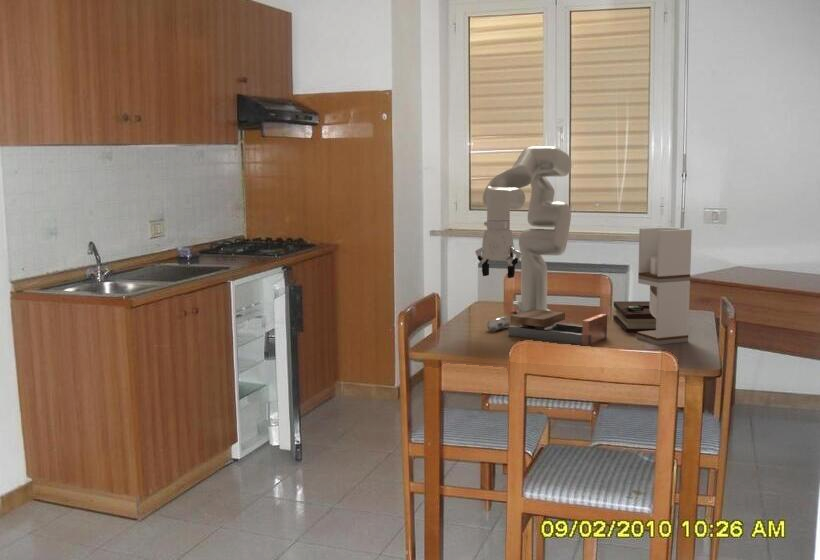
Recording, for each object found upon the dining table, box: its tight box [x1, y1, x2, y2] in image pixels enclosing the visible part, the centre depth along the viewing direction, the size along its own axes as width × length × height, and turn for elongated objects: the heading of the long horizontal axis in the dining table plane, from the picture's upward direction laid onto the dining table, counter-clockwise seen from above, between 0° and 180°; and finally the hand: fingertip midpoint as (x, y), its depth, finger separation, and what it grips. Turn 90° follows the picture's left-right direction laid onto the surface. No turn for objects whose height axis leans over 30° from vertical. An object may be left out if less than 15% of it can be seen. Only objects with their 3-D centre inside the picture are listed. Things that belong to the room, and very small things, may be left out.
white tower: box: [636, 226, 693, 346], centre depth 267 cm, size 11×11×35 cm
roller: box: [486, 316, 510, 333], centre depth 289 cm, size 4×8×4 cm, turn 144°
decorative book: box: [612, 300, 656, 334], centre depth 292 cm, size 19×8×30 cm
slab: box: [510, 309, 566, 327], centre depth 280 cm, size 12×15×2 cm
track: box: [508, 313, 608, 346], centre depth 276 cm, size 28×14×8 cm, turn 54°
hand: (498, 276), depth 287 cm, fingers open, 9 cm apart
